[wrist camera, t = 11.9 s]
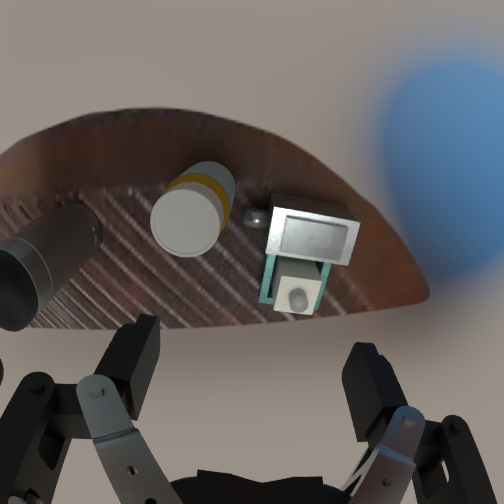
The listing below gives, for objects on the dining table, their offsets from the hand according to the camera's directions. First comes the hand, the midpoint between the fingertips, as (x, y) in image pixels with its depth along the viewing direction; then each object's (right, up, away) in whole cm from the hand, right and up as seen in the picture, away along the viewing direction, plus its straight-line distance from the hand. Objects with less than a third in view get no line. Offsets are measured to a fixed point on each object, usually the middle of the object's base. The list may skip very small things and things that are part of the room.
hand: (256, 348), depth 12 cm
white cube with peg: (+5, +1, +32) cm, 33 cm away
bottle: (-6, +12, +28) cm, 31 cm away
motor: (+5, +4, +31) cm, 32 cm away
